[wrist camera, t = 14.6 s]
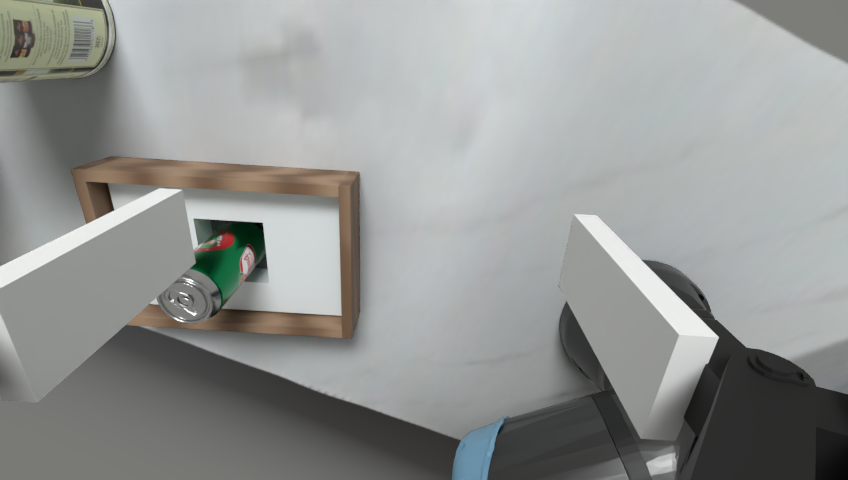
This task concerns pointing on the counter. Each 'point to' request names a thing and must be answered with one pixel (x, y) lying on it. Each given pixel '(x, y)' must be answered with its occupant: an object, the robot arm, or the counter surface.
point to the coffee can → (54, 38)
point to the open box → (250, 179)
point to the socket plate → (270, 244)
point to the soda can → (214, 273)
